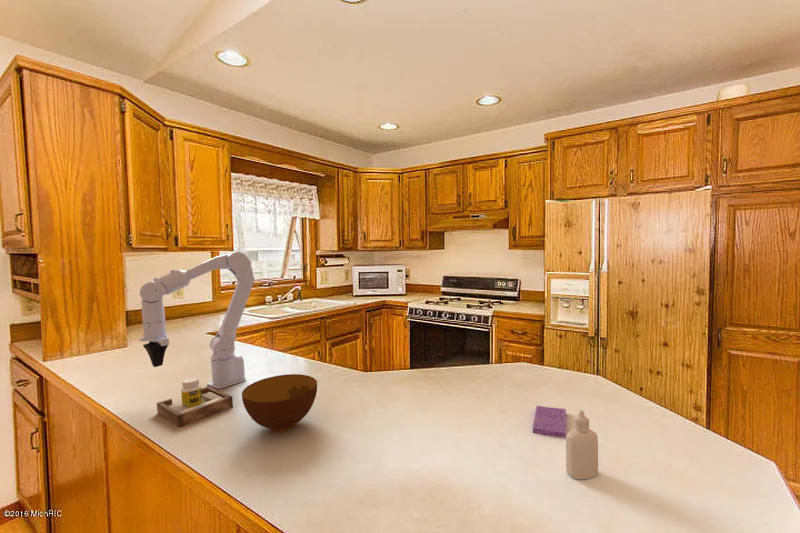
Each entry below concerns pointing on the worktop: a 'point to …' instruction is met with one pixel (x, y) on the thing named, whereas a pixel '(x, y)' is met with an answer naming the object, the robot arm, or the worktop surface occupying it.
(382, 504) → the worktop surface
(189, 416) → the socket box
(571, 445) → the eye dropper bottle
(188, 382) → the supplement bottle
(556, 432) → the sponges
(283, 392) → the bowl
